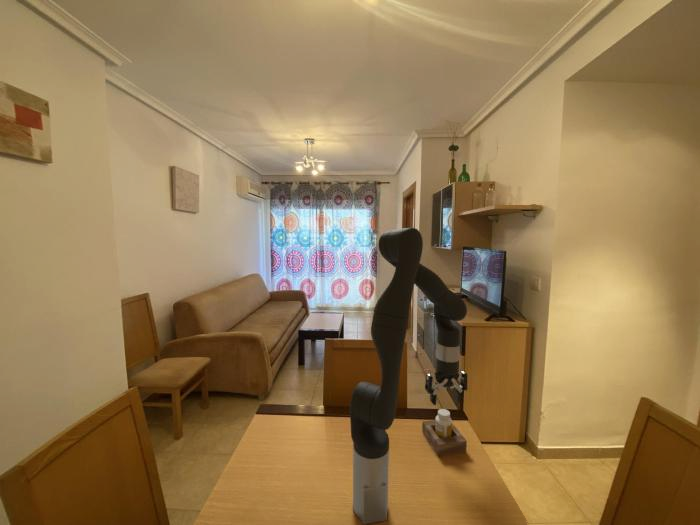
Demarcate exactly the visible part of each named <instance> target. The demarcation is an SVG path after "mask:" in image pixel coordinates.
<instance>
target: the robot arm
mask: <svg viewBox="0 0 700 525" xmlns="http://www.w3.org/2000/svg"><path fill="white" fill-rule="evenodd" d="M377 246H378V250H379V251H378V252H379V253H380V255H381V256H382V258H384V259H385V260H386V261H387V262H388V264H390V265H392V266H393V268H395V269H394V272H393V273H394V274H393V276H392V279H391V280H390V283H389V284H388V285H387V287H386V288H385V290H384V291H383V292H382V293H381V295H380V297H379V298H378V300H377V302H376V304H375V306H374V310H373V315H372V320H371V328H370V334H371V340H372V342H373V345H374V348H375V352H376V354H377V357H378V359H379V363H380V368H381V381H380V382H381V383H380V385H378V384H374V383H371V382H367V381H360V382H358V383H357V384H356V386H354V388H353V390H352V393H351V396H350V402H349V404H350V405H349V418H350V421H349V422H350V437H351V441H352V444H353V447H352V452H353V454H352V509H353V512H354V513H355V516H356V517H357V518H358V519H360V521H361V522H362V525H367V524H368V525H369V524H374V523H375V524H376V523H378V522H385V521H387V520H388V519H387V517H388V516H387V514H388V509H389V474H390V473H389V470H390V469H389V465H390V464H389V462H390V461H389V460H390V438H389V437H390V436H389V434H388V432H387V430H389V429H390V428H391V426H392V424H393V423H394V420H395V418H396V414H397V408H398V407H397V406H398V397H399V387H400V377H401V376H400V375H401V364H402V358H403V352H404V346H405V341H406V335H407V330H408V325H409V324H408V323H409V316H410V307H411V302H412V298H413V292H414V286H416V287H417V289H419V290H420V291H421V293H422V294H423V295H424V296H425V297H426V299H427V300H428V301H429V302H430V303H432V304H433V316H434V320H435V325H436V329H437V339H436V341H437V342H436V349H435V364H434V365H435V373H433V374H432V373H431V374H430V373H429V372H427V373H425V382H424V383H425V384H424V390H425V391H426V392H427V394H429V401H430V403H431V404H432V405H433V406H436V405H437V393H439V391H441V389H442V388H447V387H448V388H450V387H454V388H455V389H454V397H453V398H454V401H455V403H457V404H459V403H460V402H461V400H462V392H463V391H468V373H466V372H465V371H463V370H460V356H461V355H460V354H461V351H460V350H461V349H460V340H461V339H460V338H461V331H460V329H459V327H457V326H456V325H455V324H453V322H454V321H455V322H460V321H462V320H464V319H465V318H466V316H467V312H468V308H467V304H466V303H465V301H464V300H463V299H462V297H460V296H459V295H457V294H456V293H455V292H454V291H453V290H451V289H449V287H448V286H447V285H446V284H445V282H444V280H443V279H442V278H441V277H440V275H438V274H437V273H436V272H434V271H433V270H432V269H430V268H429V267H427V266H425V265H423V264H422V263H421V258H422V254H423V247H424V240H423V236H422V234H421V232H420V231H419V229H418V228H415V227H404V228H396V229H395V228H394V229H391V230H387V231H384V232H383V233H381V235H380V236H379V240H378V245H377ZM451 321H453V322H451ZM458 380H459V383H458Z"/></svg>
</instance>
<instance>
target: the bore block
mask: <svg viewBox="0 0 700 525" xmlns="http://www.w3.org/2000/svg"><path fill="white" fill-rule="evenodd" d="M435 420H436V419H431V420H429V419H428V420H423V421H422V423H421V424H422V425H421V427H422V430H421V431H422V434H423V435H424V437H425V438H426V440H427V442H428V444H430V446H431V447H432V450H433V451H434V452H435V454H436V456H437V457H442V456H449V455H456V454H462V453H463V454H464V453H467V440H466V438H465V437H464V436H463V435H462V433H461V432H460V430H458V428H457V427H456V426H455V425H454V424H453V423H452V434H451V437H446V438H439V437H438V436H437V434H436V433H435Z"/></svg>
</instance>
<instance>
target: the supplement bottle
mask: <svg viewBox="0 0 700 525" xmlns="http://www.w3.org/2000/svg"><path fill="white" fill-rule="evenodd" d="M434 420H435V433H436V434H437V436H438V437H439V438H446V437H451V434H452V424H453V420H452V418H451V412H450V411H449V410H448V409H445V408H439V409H438V410H437V415H436V416H435V419H434Z"/></svg>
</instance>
